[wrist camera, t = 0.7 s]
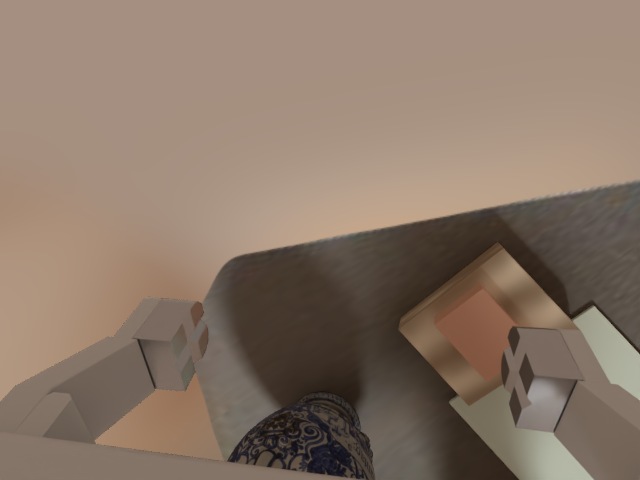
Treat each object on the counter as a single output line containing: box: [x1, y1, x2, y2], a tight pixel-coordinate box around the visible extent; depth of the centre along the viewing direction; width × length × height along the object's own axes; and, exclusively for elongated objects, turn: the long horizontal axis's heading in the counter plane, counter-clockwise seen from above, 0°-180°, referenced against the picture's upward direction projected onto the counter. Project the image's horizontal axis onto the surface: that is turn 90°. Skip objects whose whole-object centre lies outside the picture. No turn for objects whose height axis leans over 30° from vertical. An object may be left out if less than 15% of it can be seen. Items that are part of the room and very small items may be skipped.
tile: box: [434, 283, 521, 382], centre depth 48 cm, size 9×7×2 cm
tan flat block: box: [398, 242, 581, 406], centre depth 52 cm, size 13×16×4 cm
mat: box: [449, 305, 640, 480], centre depth 53 cm, size 20×22×1 cm
